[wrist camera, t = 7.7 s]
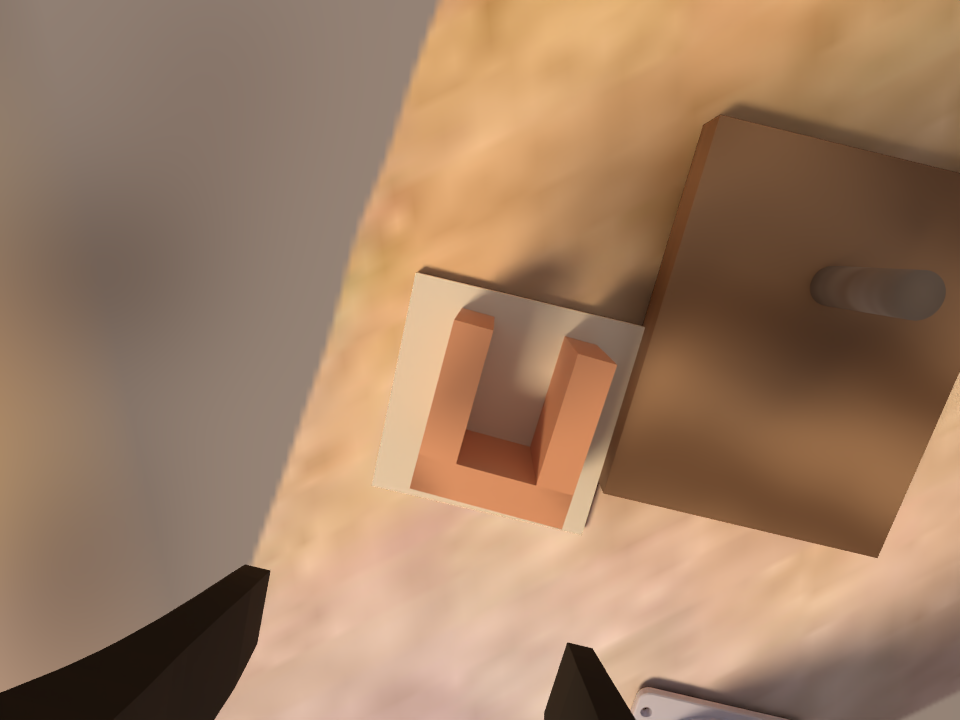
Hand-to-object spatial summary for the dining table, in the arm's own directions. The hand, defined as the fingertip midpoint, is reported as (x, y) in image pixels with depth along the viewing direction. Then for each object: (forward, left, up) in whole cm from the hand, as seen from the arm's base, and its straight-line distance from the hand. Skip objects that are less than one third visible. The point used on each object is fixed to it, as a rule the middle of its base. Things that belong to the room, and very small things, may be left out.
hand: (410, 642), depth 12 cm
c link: (+4, -2, -10) cm, 10 cm away
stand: (+8, -12, -10) cm, 17 cm away
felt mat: (+3, -2, -10) cm, 11 cm away
